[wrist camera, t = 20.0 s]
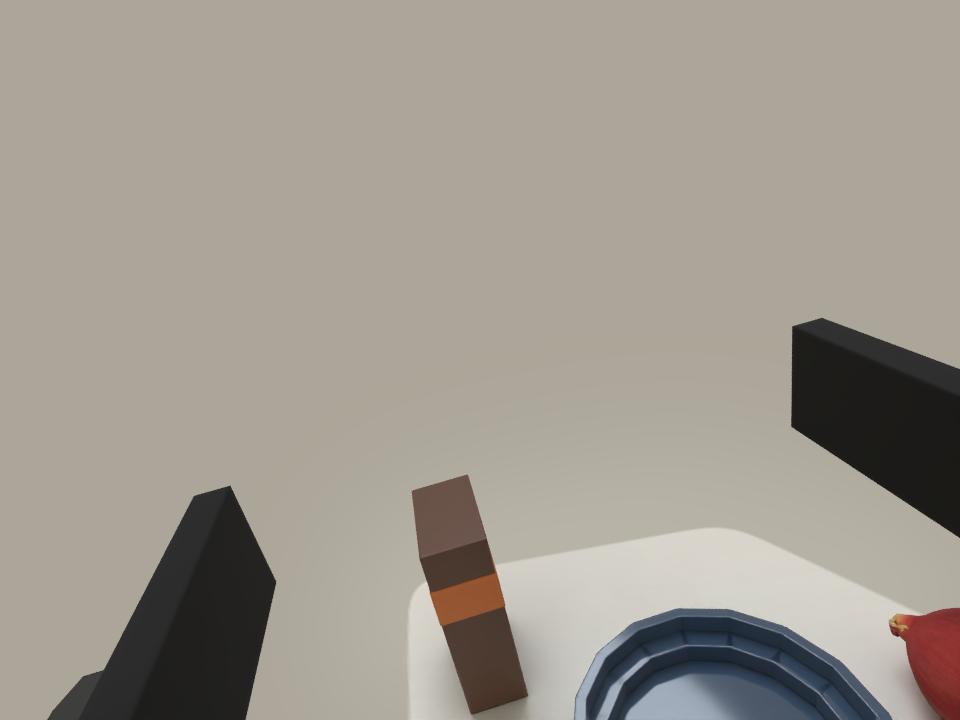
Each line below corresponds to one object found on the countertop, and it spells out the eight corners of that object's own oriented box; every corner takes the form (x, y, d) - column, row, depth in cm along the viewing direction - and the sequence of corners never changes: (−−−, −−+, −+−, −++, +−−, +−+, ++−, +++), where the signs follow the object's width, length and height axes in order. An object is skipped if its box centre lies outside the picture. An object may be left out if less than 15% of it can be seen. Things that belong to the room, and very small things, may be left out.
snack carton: (506, 615, 38) (468, 473, 33) (529, 696, 32) (487, 539, 28) (455, 631, 37) (410, 490, 33) (470, 716, 32) (418, 560, 27)
